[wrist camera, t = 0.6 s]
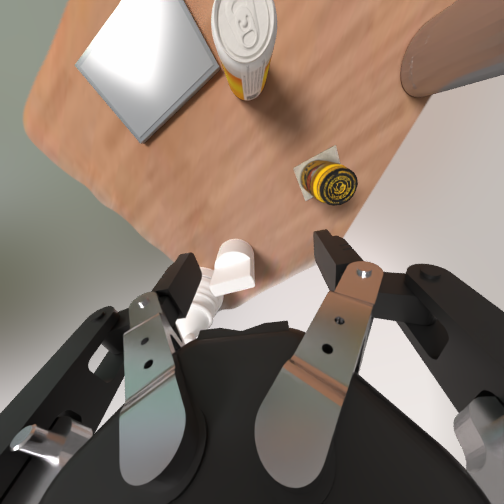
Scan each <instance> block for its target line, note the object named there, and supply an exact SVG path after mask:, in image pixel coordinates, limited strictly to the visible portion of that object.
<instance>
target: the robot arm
mask: <svg viewBox="0 0 504 504" xmlns="http://www.w3.org/2000/svg"><path fill="white" fill-rule="evenodd" d="M500 75H504V0H457V1H456V2H454V3H453V4H452V5H450V6H449V7H447V8H446V9H444V10H443V11H442V12H440V13H439V14H437V15H436V16H435V17H433V18H432V19H430V20H429V21H428V22H426V23H425V24H424V25H423V26H422V27H421V28H420V29H419V31H418V32H417V33H416V35H415V36H414V37H413V39H412V40H411V42H410V44H409V46H408V48H407V50H406V52H405V55H404V58H403V62H402V66H401V82H402V85H403V88H404V89H405V91H406V92H407V93H408V94H409V95H411V96H414V97H424V96H429V95H432V94H436V93H439V92H442V91H447V90H450V89H454V88H457V87H461V86H465V85H468V84H472V83H475V82H479V81H482V80H486V79H489V78H493V77H497V76H500ZM313 237H314V256H315V261H316V263H317V265H318V267H319V269H320V271H321V273H322V276H323V278H324V280H325V282H326V284H327V286H328V288H329V290H330V291H329V292H328V294H327V295H326V297H325V299H324V301H323V303H322V304H321V307H320V308H319V310H318V312H317V313H316V315H315V317H314V319H313V321H312V322H311V324H310V326H309V328H308V330H307V332H306V333H305V332H303V331H300V330H297V329H293V328H289V326H288V321H280V322H272V323H264V324H261V325H258V326H255V327H253V328H250V329H247V330H244V331H237V330H230V329H223V328H217V329H207V330H200V332H199V335H198V338H197V339H194V340H192V341H190V342H188V343H187V344H185V342H184V340H183V337H182V335H181V332H180V330H179V327H178V325H177V324H176V321H177V319H183V318H186V316H187V314H188V311H189V309H190V306H191V304H192V301H193V299H194V297H195V294H196V292H197V289H198V287H199V284H200V282H201V279H202V272H201V269H200V267H199V265H198V262H197V260H196V258H195V256H194V254H193V253H185V254H180V255H179V257H178V258H177V260H176V261H175V262H174V263H173V264H172V265H171V266H170V267H169V268H168V269H167V270H166V271H165V274H163V276H162V278H161V279H160V280H159V281H158V283H157V284H156V286H155V287H154V288H153V290H152V291H151V292H147V293H144V294H142V295H140V296H138V297H137V298H136V299H135V300H133V302H132V303H131V304H130V306H129V308H127V309H125V310H122V311H119V312H117V311H116V310H115V309H114V308H113V307H112V306H108V307H104V308H102V309H100V310H98V311H96V312H94V313H93V314H92V315H90V316H89V317H88V318H87V319H86V320H85V321H84V322H83V323H82V325H81V326H80V327H79V328H78V329H77V330H76V331H75V332H74V333H73V335H71V337H70V338H69V339H68V340H67V341H66V342H65V343H64V344H63V345H62V346H61V348H60V349H59V350H58V351H57V352H56V353H55V354H54V355H53V356H52V357H51V359H50V360H49V361H48V362H47V363H46V364H45V365H44V366H43V367H42V368H41V370H40V371H39V372H38V373H37V374H36V375H35V376H34V377H33V378H32V380H31V381H30V382H29V383H28V384H27V385H26V386H25V387H24V388H23V389H22V390H21V391H20V393H19V394H18V395H17V396H16V397H15V398H14V399H13V400H12V401H11V402H10V404H9V405H8V406H7V407H6V408H5V409H4V410H3V411H2V412H1V413H0V504H504V312H503V311H502V310H500V309H499V308H498V307H496V306H495V305H494V304H492V303H491V302H490V301H488V300H487V299H486V298H484V297H483V296H482V295H480V294H479V293H478V292H476V291H475V290H474V289H472V288H471V287H470V286H468V285H467V284H465V283H464V282H463V281H461V280H460V279H459V278H458V277H456V276H455V275H453V274H452V273H451V272H449V271H448V270H446V269H444V268H441V267H438V266H434V265H429V264H415V265H411V266H410V267H408V269H407V272H406V274H404V273H389V272H383V270H382V269H381V268H380V267H379V266H378V265H376V264H374V263H370V262H365V261H363V260H362V258H361V257H360V256H359V255H358V254H357V253H356V252H355V251H354V249H352V247H351V246H350V245H349V244H348V243H347V241H346V240H345V239H343V238H341V237H339V236H332V235H331V234H330V233H329V231H328V230H327V229H326V230H320V231H314V234H313ZM374 318H380V319H387V320H393V321H396V322H397V323H398V325H399V326H400V328H401V329H402V331H403V332H404V334H405V335H406V337H407V338H408V339H409V341H410V342H411V344H412V345H413V347H414V348H415V350H416V351H417V353H418V354H419V355H420V357H421V358H422V360H423V361H424V363H425V364H426V365H427V367H428V369H429V370H430V372H431V373H432V374H433V376H434V377H435V379H436V380H437V382H438V383H439V385H440V386H441V388H442V389H443V391H444V392H445V393H446V395H447V396H448V398H449V399H450V401H451V402H452V404H453V405H454V407H455V408H456V409H457V411H458V412H459V414H458V415H457V416H456V417H455V419H454V431H455V434H456V437H457V439H458V441H459V443H460V445H461V447H462V449H463V451H464V454H465V458H466V469H465V468H464V467H463V466H462V465H461V464H460V463H459V462H458V461H457V460H456V459H455V458H454V457H453V456H452V455H451V454H450V453H449V452H448V451H447V450H446V449H445V448H444V447H443V446H442V445H440V444H439V443H438V442H437V441H436V440H435V439H433V438H432V437H431V436H430V435H429V434H428V433H426V432H425V431H424V430H423V429H422V428H421V427H419V426H418V425H417V424H416V423H415V422H413V421H412V420H411V419H410V418H409V417H408V416H406V415H405V414H404V413H403V412H402V411H401V410H399V409H398V408H397V407H396V406H395V405H394V404H392V403H391V402H390V401H389V400H388V399H386V398H385V397H384V396H383V395H382V394H381V393H379V392H378V391H377V390H376V389H375V388H374V387H372V386H371V385H370V384H369V383H368V382H366V381H365V380H364V379H363V378H362V377H361V376H360V375H358V374H359V370H360V366H361V363H362V358H363V355H364V351H365V347H366V343H367V340H368V336H369V333H370V329H371V326H372V322H373V319H374ZM100 344H102V345H103V346H104V347H106V348H107V349H108V350H109V352H108V353H107V354H106V356H105V357H104V359H103V360H102V362H101V363H100V365H99V367H98V368H97V370H96V371H95V373H92V372H91V371H90V370H89V368H88V363H89V360H90V358H91V357H92V355H93V354H94V352H95V351H96V350H97V349H98V347H99V346H100ZM124 376H125V403H124V404H123V406H122V407H120V408H119V409H118V410H117V412H115V414H114V415H113V416H112V417H111V418H110V419H109V420H108V421H107V422H106V423H105V424H104V425H103V426H102V427H101V428H100V429H99V430H98V431H97V432H96V433H95V431H96V430H97V428H98V426H99V424H100V422H101V420H102V418H103V416H104V414H105V412H106V410H107V408H108V406H109V405H110V403H111V401H112V399H113V397H114V395H115V393H116V391H117V389H118V388H119V386H120V384H121V382H122V380H123V378H124ZM94 433H95V434H94Z"/></svg>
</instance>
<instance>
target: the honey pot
mask: <svg viewBox="0 0 504 504" xmlns="http://www.w3.org/2000/svg"><path fill="white" fill-rule="evenodd" d="M200 269H201V272H202V279H201V282H200V284H199V287H198V289H197V292H196V294H195V297H194V299H193V301H192V304H191V306H190V309H189V311H188V314H187V316H186V318H183V319H177V321H176V324H177V325H178V327H179V330H180V332H181V335H182V337H183V340H184V342H185V344H187V343H188V342H190V341H192V340H194V339H196V337H197V336H198V335H199V332H200V330H207V329H208V328H210V326H211V325H212V323H213V318H214V316H215V315H216V313H217V311H218V310H219V308H220V307H221V305H222V302H223V298H224V295H220V296H216V297H215V296H214V295H213V293H212V292H211V290H210V287H209V286H210V282H211V279H212V276H213V272H214V270H212V269H209V268H205V267H200Z"/></svg>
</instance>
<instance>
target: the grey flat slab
mask: <svg viewBox="0 0 504 504" xmlns="http://www.w3.org/2000/svg"><path fill="white" fill-rule="evenodd" d="M75 66H76V67H77V69H78V70H79V71H80V72H81V73H82V75H83V76H84V77H85V78H86V79H87V81H88V82H89V83H90V84H91V85H92V86H93V88H94V89H95V90H96V91H97V92H98V94H99V95H100V96H101V97H102V98H103V100H104V101H105V102H106V103H107V104H108V106H109V107H110V108H111V109H112V110H113V111H114V113H115V114H116V115H117V116H118V117H119V119H120V120H121V121H122V122H123V123H124V125H125V126H126V127H127V128H128V129H129V130H130V132H131V133H132V134H133V135H134V136H135V138H136V139H137V140H138V141H139V142H140V143H141V144H144V143H145V142H146V141H147V140H148V139H149V138H150V137H151V136H152V135H153V134H154V133H155V132H156V131H157V130H158V129H159V128H160V127H161V126H162V125H164V124H165V123H166V122H167V121H168V120H169V119H170V118H171V117H172V116H173V115H174V114H175V113H176V112H177V111H178V110H179V109H180V108H181V107H182V106H183V105H184V104H185V103H186V102H187V101H188V100H189V99H190V98H191V97H192V96H193V95H194V94H196V93H197V92H198V91H199V90H200V89H201V88H202V87H203V86H204V85H205V84H206V83H207V82H208V81H209V80H210V79H211V78H212V77H213V76H214V75H215V74H216V73H217V72H218V71H219V70H220V67H219V65H218V63H217V62H216V60H215V58H214V56H213V54H212V52H211V51H210V49H209V47H208V45H207V43H206V41H205V39H204V38H203V36H202V34H201V32H200V30H199V28H198V27H197V25H196V23H195V21H194V19H193V17H192V15H191V14H190V12H189V10H188V8H187V6H186V4H185V3H184V1H183V0H122V1H121V2H120V4H119V5H118V6H117V8H116V9H115V11H114V12H113V13H112V15H111V16H110V17H109V19H108V20H107V22H106V23H105V24H104V26H103V27H102V28H101V30H100V31H99V33H98V34H97V35H96V37H95V38H94V39H93V41H92V42H91V44H90V45H89V46H88V48H87V49H86V50H85V52H84V53H83V55H82V56H81V57H80V59H79V60H78V61H77V63H76V64H75Z"/></svg>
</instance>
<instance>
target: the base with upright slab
mask: <svg viewBox="0 0 504 504" xmlns="http://www.w3.org/2000/svg"><path fill="white" fill-rule="evenodd" d="M209 287H210V290H211V292H212V293H213V295H214V296H215V297H216V296H220V295H224V294H228V293H232V292H236V291H240V290H244V289H248V288H252V287H255V272H254V252H253V249H252V247H251V245H250V244H249V243H247V242H246V241H244V240H241V239H230V240H228V241H226V242H224V243H223V244H222V245H221V247H220V249H219V252H218V255H217V259H216V262H215V269H214V272H213V276H212V279H211V282H210V286H209Z"/></svg>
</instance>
